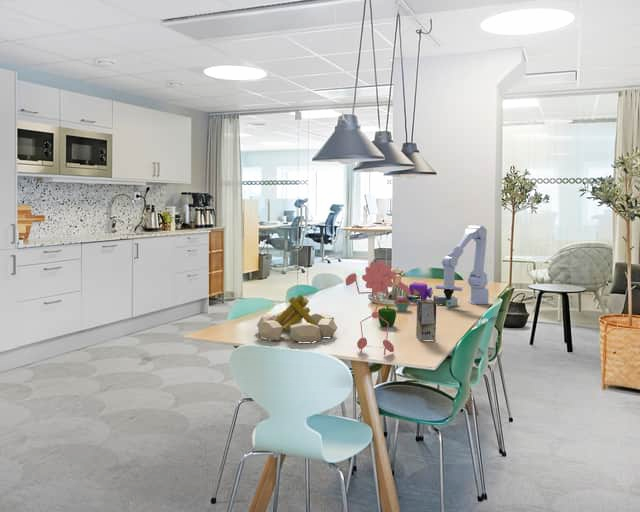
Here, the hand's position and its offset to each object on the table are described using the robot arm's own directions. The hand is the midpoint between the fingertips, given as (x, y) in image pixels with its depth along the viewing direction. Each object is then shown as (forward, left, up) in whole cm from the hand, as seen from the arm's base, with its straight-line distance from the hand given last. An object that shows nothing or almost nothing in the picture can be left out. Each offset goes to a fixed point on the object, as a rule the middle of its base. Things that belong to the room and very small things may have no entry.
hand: (448, 303), depth 327 cm
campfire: (+84, +66, -2) cm, 107 cm away
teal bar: (-2, 0, -2) cm, 3 cm away
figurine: (+53, +96, -2) cm, 109 cm away
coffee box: (+30, +75, -2) cm, 81 cm away
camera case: (0, -9, -2) cm, 9 cm away
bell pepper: (+42, +49, -2) cm, 65 cm away
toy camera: (+11, -21, -2) cm, 23 cm away
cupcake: (+28, +11, -2) cm, 30 cm away
